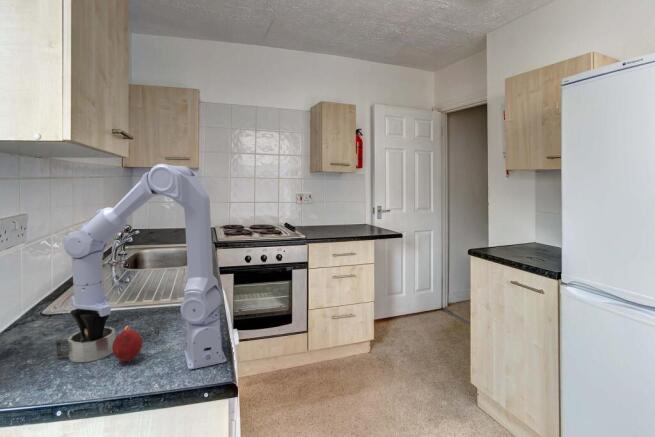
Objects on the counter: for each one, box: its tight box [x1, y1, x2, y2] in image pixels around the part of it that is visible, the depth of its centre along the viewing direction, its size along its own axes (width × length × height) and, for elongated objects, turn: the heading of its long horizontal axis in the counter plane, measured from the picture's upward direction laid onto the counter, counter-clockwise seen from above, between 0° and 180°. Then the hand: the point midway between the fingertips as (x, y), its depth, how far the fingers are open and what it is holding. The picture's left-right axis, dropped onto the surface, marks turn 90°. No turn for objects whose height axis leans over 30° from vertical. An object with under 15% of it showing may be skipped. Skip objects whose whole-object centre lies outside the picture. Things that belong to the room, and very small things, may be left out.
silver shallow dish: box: [55, 326, 117, 364], centre depth 82 cm, size 9×11×4 cm
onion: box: [112, 325, 143, 362], centre depth 79 cm, size 6×6×8 cm
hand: (92, 339), depth 82 cm, fingers closed on plunger, 3 cm apart
